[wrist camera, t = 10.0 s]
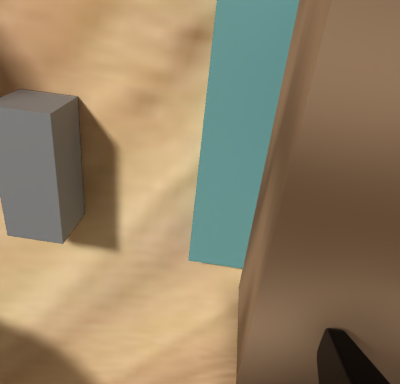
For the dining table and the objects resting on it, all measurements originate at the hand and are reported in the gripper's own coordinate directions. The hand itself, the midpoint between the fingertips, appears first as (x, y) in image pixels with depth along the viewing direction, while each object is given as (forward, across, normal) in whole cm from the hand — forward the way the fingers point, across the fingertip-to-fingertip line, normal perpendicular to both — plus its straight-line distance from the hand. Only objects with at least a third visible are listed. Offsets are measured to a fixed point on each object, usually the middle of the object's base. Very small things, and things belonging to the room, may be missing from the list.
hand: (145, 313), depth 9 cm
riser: (+12, +8, +2) cm, 14 cm away
